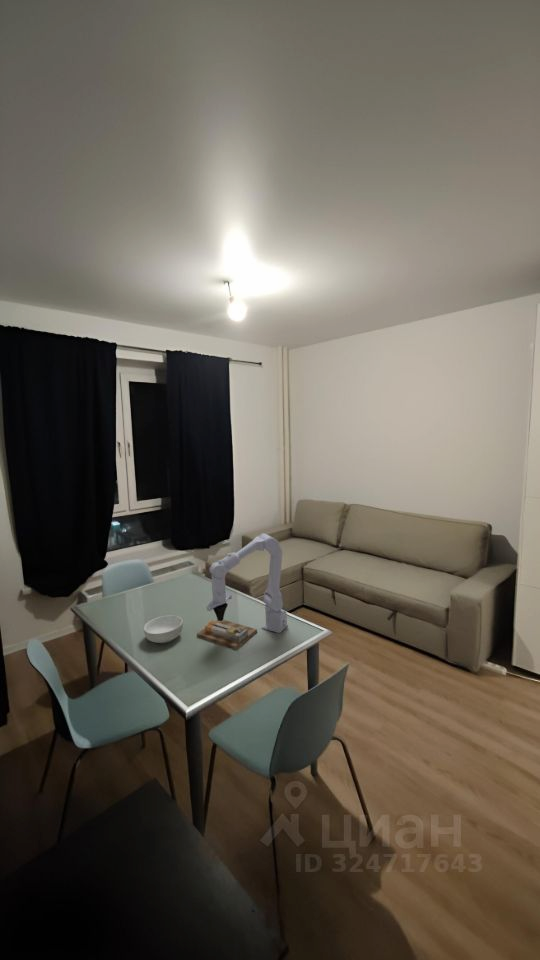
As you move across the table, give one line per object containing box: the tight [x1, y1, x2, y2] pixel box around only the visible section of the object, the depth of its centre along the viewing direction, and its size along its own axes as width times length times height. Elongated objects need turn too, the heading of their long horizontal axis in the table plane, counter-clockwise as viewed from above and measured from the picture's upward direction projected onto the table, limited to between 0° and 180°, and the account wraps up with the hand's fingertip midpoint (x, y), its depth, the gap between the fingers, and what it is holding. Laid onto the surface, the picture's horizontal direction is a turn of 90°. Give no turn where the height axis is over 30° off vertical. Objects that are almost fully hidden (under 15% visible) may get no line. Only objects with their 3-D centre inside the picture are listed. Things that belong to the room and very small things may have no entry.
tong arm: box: [208, 620, 242, 634], centre depth 172 cm, size 18×3×3 cm, turn 58°
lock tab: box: [226, 627, 237, 634], centre depth 166 cm, size 3×4×1 cm
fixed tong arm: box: [204, 623, 248, 643], centre depth 170 cm, size 19×7×3 cm, turn 58°
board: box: [196, 619, 258, 651], centre depth 173 cm, size 22×16×2 cm
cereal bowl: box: [143, 614, 184, 644], centre depth 171 cm, size 17×17×7 cm
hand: (220, 620), depth 167 cm, fingers closed
